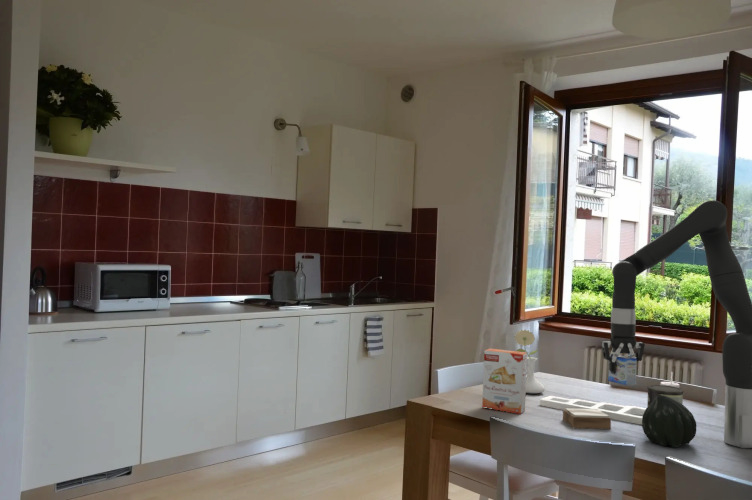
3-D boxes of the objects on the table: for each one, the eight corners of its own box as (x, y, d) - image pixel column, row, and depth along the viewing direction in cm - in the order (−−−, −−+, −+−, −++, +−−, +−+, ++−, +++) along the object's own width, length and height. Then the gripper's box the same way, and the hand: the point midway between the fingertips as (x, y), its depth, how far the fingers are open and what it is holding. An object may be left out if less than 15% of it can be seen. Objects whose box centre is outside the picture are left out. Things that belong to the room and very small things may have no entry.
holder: (539, 406, 230) (539, 399, 230) (559, 399, 244) (559, 392, 244) (670, 431, 201) (670, 423, 201) (684, 421, 215) (684, 413, 215)
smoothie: (680, 412, 226) (682, 373, 226) (661, 411, 227) (663, 372, 227) (676, 408, 232) (677, 370, 232) (657, 407, 234) (658, 369, 234)
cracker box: (481, 408, 221) (483, 349, 221) (486, 405, 227) (488, 347, 227) (521, 414, 215) (522, 353, 215) (525, 411, 220) (527, 351, 220)
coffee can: (642, 432, 197) (643, 387, 197) (651, 426, 205) (652, 383, 205) (677, 439, 191) (678, 393, 191) (685, 432, 199) (687, 388, 199)
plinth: (610, 428, 200) (610, 416, 200) (573, 428, 200) (574, 415, 200) (598, 420, 210) (598, 408, 210) (562, 419, 210) (563, 407, 210)
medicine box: (607, 381, 209) (608, 355, 209) (617, 380, 211) (618, 354, 211) (626, 385, 202) (626, 358, 202) (636, 384, 203) (636, 357, 204)
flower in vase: (548, 392, 254) (550, 330, 254) (539, 397, 244) (541, 332, 244) (517, 387, 261) (519, 327, 261) (507, 392, 251) (509, 329, 251)
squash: (716, 431, 181) (684, 385, 189) (684, 439, 173) (652, 391, 182) (682, 453, 190) (653, 408, 199) (650, 461, 183) (621, 415, 191)
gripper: (606, 322, 202) (605, 375, 202) (650, 323, 203) (649, 375, 203) (597, 320, 210) (596, 371, 209) (638, 321, 211) (638, 372, 210)
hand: (622, 373), depth 206 cm, fingers closed on medicine box, 5 cm apart
